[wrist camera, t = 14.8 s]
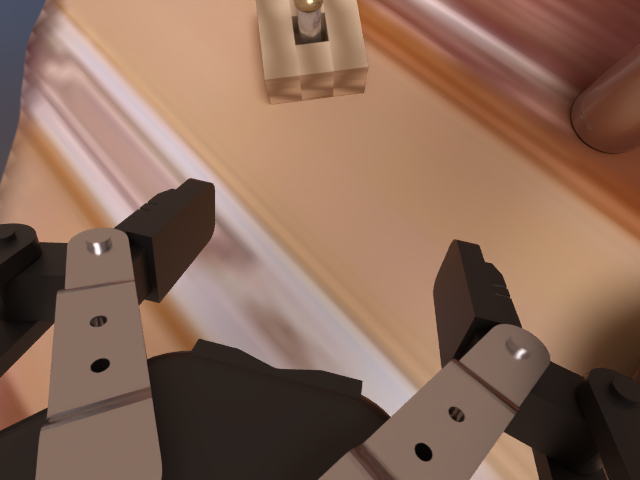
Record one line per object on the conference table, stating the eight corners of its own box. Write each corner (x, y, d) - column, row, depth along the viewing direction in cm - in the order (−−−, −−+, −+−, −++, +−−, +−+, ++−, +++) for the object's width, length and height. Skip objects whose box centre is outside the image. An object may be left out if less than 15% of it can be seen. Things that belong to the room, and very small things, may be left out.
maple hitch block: (350, 13, 50) (352, -20, 45) (363, 92, 48) (368, 66, 43) (262, 24, 50) (254, -8, 45) (271, 104, 48) (264, 79, 43)
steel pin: (322, 46, 49) (321, -21, 39) (325, 67, 48) (325, 4, 39) (298, 49, 49) (291, -17, 39) (301, 70, 48) (294, 8, 39)
